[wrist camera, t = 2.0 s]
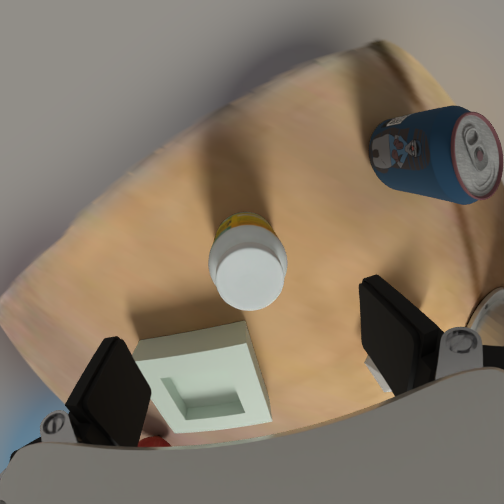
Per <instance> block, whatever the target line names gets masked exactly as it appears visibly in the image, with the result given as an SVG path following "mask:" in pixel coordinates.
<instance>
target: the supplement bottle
mask: <svg viewBox="0 0 504 504" xmlns="http://www.w3.org/2000/svg"><path fill="white" fill-rule="evenodd" d="M286 271H287V255H286V252H285V249H284V247H283V245H282V243H281V241H280V240H279V238H278V237H277V235H276V233H275V232H274V230H273V229H272V227H271V226H270V224H269V223H268V222H267V221H266V220H265V219H264V218H263V217H261V216H260V215H257V214H255V213H251V212H240V213H236V214H234V215H231V216H230V217H228V218H227V219H225V220H224V221H223V222H222V223H221V225H220V226H219V228H218V230H217V233H216V236H215V239H214V242H213V245H212V248H211V250H210V255H209V272H210V275H211V278H212V280H213V282H214V284H215V285H216V287H217V290H218V292H219V294H220V296H221V297H222V298H223V300H224V301H225V302H227V303H228V304H229V305H231V306H233V307H235V308H237V309H240V310H247V311H252V310H258V309H262V308H264V307H266V306H268V305H270V304H271V303H272V302H273V301H274V300H275V299H276V298H277V297H278V296H279V294H280V292H281V290H282V288H283V284H284V277H285V275H286Z"/></svg>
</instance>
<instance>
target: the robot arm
mask: <svg viewBox="0 0 504 504" xmlns="http://www.w3.org/2000/svg"><path fill="white" fill-rule="evenodd" d="M359 298H360V315H361V340H362V345H363V347H364V349H365V351H366V352H367V354H368V355H369V357H370V358H371V360H372V361H373V363H374V364H375V366H376V367H377V369H378V370H379V372H380V373H381V375H382V376H383V378H384V380H385V381H386V383H387V384H388V386H389V387H390V389H391V390H392V392H393V394H394V395H395V397H393V398H391V399H388V400H386V401H383V402H381V403H378V404H375V405H373V406H370V407H367V408H364V409H361V410H359V411H356V412H353V413H350V414H347V415H344V416H341V417H338V418H335V419H331V420H328V421H325V422H321V423H318V424H314V425H310V426H307V427H303V428H299V429H295V430H290V431H286V432H281V433H277V434H272V435H267V436H262V437H256V438H250V439H244V440H238V441H231V442H223V443H214V444H204V445H192V446H174V447H138V443H139V439H140V435H141V431H142V427H143V424H144V420H145V416H146V413H147V409H148V405H149V402H150V398H151V394H152V392H151V388H150V386H149V384H148V382H147V381H146V379H145V377H144V376H143V374H142V372H141V371H140V369H139V367H138V365H137V364H136V362H135V360H134V358H133V357H132V355H131V353H130V351H129V349H128V347H127V345H126V344H125V342H124V340H122V339H120V338H119V337H117V336H116V337H109V338H105V339H104V340H103V341H102V343H101V344H100V346H99V348H98V349H97V351H96V352H95V354H94V356H93V357H92V359H91V361H90V362H89V364H88V365H87V367H86V369H85V370H84V372H83V374H82V376H81V377H80V379H79V381H78V382H77V384H76V386H75V388H74V389H73V391H72V393H71V395H70V396H69V398H68V400H67V402H66V404H65V406H66V407H67V408H68V409H69V411H70V412H69V414H67V413H66V412H65V411H61V410H57V411H54V412H51V413H50V414H48V415H47V416H46V417H45V418H44V419H43V421H42V422H41V425H40V433H41V437H39V438H38V439H36V440H34V441H32V442H31V443H29V444H27V445H25V446H24V447H22V448H20V449H18V450H16V451H14V452H13V453H12V454H11V457H10V462H9V464H8V466H7V468H6V469H5V470H4V471H3V472H2V473H1V474H0V504H504V288H503V287H500V288H496V289H495V290H493V291H492V292H490V293H489V294H488V295H487V296H486V297H485V298H484V299H483V300H482V302H481V303H480V304H479V306H478V307H477V309H476V310H475V312H474V313H473V315H472V317H471V319H470V321H469V323H468V325H467V327H455V328H451V329H449V330H447V331H446V332H445V333H444V332H443V331H442V330H441V329H440V328H439V327H438V326H437V325H436V324H435V323H434V322H433V321H431V320H430V319H429V318H428V317H427V316H426V315H425V314H424V313H422V312H421V311H420V310H419V309H418V308H417V307H416V306H414V305H413V304H412V303H411V302H410V301H409V300H408V299H406V298H405V297H404V296H403V295H402V294H400V293H399V292H398V291H397V290H396V289H395V288H393V287H392V286H391V285H390V284H389V283H387V282H386V281H385V280H384V279H383V278H381V277H380V276H379V275H373V276H370V277H367V278H364V279H363V281H362V283H360V284H359Z"/></svg>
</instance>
